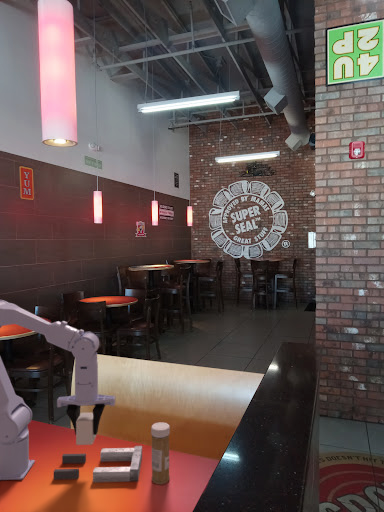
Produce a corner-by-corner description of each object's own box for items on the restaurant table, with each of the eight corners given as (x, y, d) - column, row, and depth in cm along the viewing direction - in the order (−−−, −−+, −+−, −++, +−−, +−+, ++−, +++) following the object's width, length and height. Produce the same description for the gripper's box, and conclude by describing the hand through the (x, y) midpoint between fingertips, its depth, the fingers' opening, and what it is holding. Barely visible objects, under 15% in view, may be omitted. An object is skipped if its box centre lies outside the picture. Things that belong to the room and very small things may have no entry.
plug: (76, 444, 93) (76, 421, 93) (81, 435, 98) (81, 412, 98) (92, 444, 93) (92, 420, 93) (96, 434, 98) (96, 412, 98)
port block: (92, 482, 91) (92, 470, 91) (101, 457, 102) (102, 446, 102) (137, 481, 91) (138, 469, 91) (142, 456, 102) (142, 445, 102)
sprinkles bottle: (173, 481, 91) (173, 426, 91) (156, 487, 89) (156, 431, 88) (164, 472, 95) (164, 419, 95) (148, 477, 92) (148, 424, 92)
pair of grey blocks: (53, 479, 92) (53, 471, 92) (63, 461, 100) (63, 454, 100) (78, 479, 92) (78, 471, 92) (85, 460, 100) (85, 453, 100)
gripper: (117, 375, 100) (117, 425, 100) (62, 376, 99) (63, 426, 100) (112, 384, 93) (112, 438, 93) (54, 385, 92) (54, 439, 92)
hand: (86, 433), depth 96 cm, fingers closed on plug, 4 cm apart
